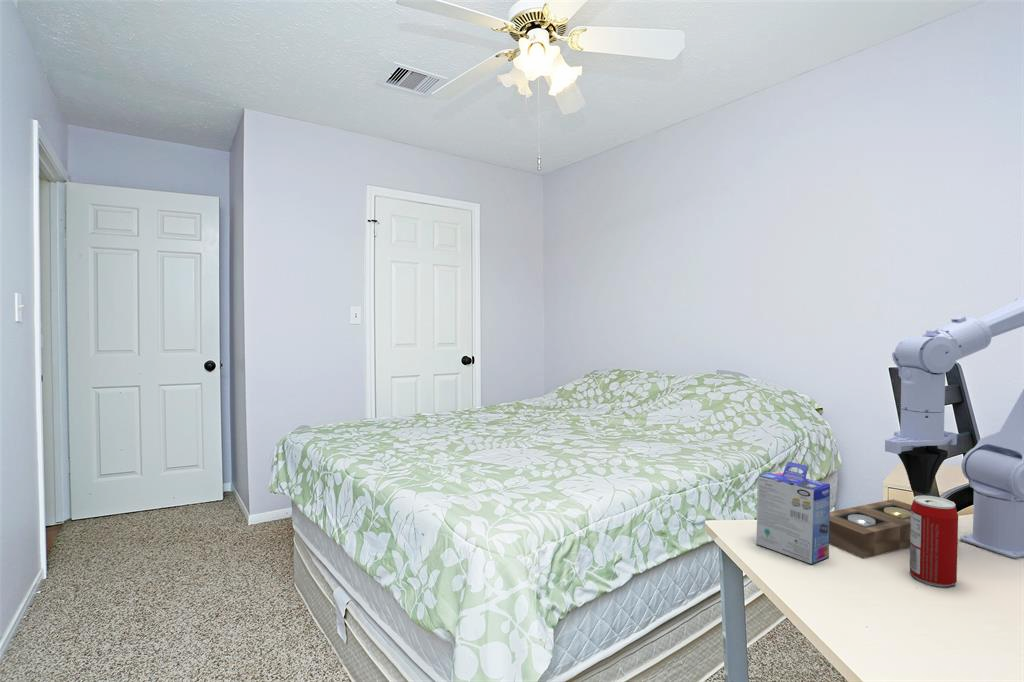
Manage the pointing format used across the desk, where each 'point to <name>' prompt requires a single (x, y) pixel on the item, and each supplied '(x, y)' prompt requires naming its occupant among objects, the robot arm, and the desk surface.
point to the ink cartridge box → (793, 514)
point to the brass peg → (897, 512)
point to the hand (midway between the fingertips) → (920, 491)
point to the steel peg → (861, 519)
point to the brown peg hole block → (870, 529)
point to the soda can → (934, 540)
